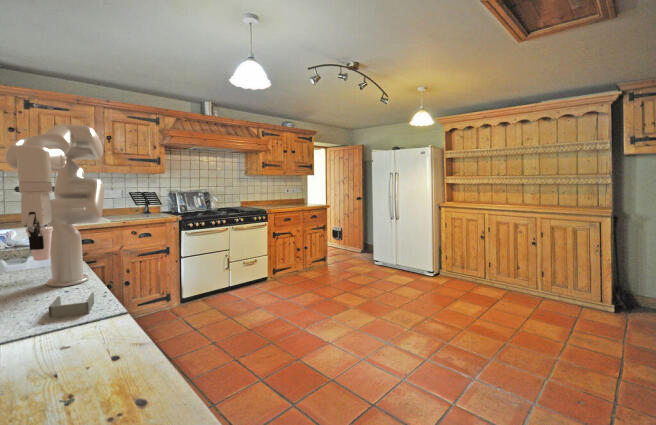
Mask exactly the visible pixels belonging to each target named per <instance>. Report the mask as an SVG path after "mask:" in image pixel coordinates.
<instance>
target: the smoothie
mask: <svg viewBox="0 0 656 425" xmlns="http://www.w3.org/2000/svg"><path fill="white" fill-rule="evenodd" d="M37 229H38V228H37ZM52 231H53V227H51V226H42V235H41V236H43V240H44V249H39V250H31V254H32V257H33V261H36V262H37V261H47V260H49V259H51V258H50V249H51V236H52ZM25 233H26V234H27V238H28V239H29V236H28V228H27V227H25Z"/></svg>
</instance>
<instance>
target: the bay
mask: <svg viewBox="0 0 656 425" xmlns="http://www.w3.org/2000/svg"><path fill="white" fill-rule="evenodd" d="M93 304H94V305H95V294H94V292H91V293H90V294H89V296H88V298H87V300H86V301H85V302H75V303H74V302H73V303H68V304H67V303H66V304H61V295H60V296H57V297H56V298H55V299H54V300H53V301H52V302H51V304H50V305H49V306H48V316H49V318H48V320H53V319H52V318H54V319H60V317H62V318H67V317H68V316H69V317H75V316H74V315H77V316H81V315H82V316H84V315H90V312H91V310H92V309H93V306H94V305H93ZM83 314H84V315H83ZM69 317H68V318H69Z"/></svg>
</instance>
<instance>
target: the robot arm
mask: <svg viewBox="0 0 656 425" xmlns="http://www.w3.org/2000/svg"><path fill="white" fill-rule="evenodd" d="M103 155H104V147H103V144H102V141H101V140H100V137H99V136H98V133H97V132H96V131H95V130H94V129H93V128H92V127H91V126H89V125H83V124H81V125H80V124H66V123H58V124H56V125H53V126H52V127H50V128H49V129H48V130H47V131H46V132H45V133H43V134H37V135H32V136H28V137H23V138H19V139H17V140H15V141H14V142H12V144H10V145H9V146H8V148H7V149H6V152H5V161H6V163H7V165H8V166H9V167H10V168H12V169H13V170H17V177H18V187H19V188H18V191H19V193H20V194H21V199H20V203H21V205H20V207H21V208H20V210H21V212H20V214H21V216H20V217H21V226H22V227H23V228H28V234H27V237H28V236H29V238H28V243H29V244H28V245H29V247H28V248H29V251H32V250H39V249H44V240H43V236H41V235H42V226H51V227H53V231H52V236H51V249H50V258H49V259H50V268H51V269H50V270H51V278H50V279H48V280H47V281H46V285H47V286H48V287H54V288H55V287H57V288H58V287H69V286H74V285H79V284H82V283H85V282H87V281H88V280H89V278H90V276H89V275H88V274H85V273H84V261H83V259H84V258H83V245H82V242H83V241H82V234H81V232H80V230H78V229H77V228H76V227H75V226H74V225H81V224H84V225H85V224H96V223H98V222H100V221H101V219H102V216H103V212H104V211H103V210H104V202H105V200H104V199H105V186H104V183H103V181H102V180H101V179H99V178H97V177H85V170H84V169H83V168H82V167H81V166H80V165H79V164H78V163H77V162H76V161H75V160H88V161H89V160H90V161H95V160H96V161H97V160H100V159H101V158H102V157H103ZM73 160H74V161H73ZM55 171H56V172H57V175H56V180H55V184H54V189H53V177H52V176H53V175H52V172H55ZM50 193H53V195H54V196H55V199H54V198H53V199H51V196H50ZM37 228H38V229H37Z"/></svg>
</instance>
